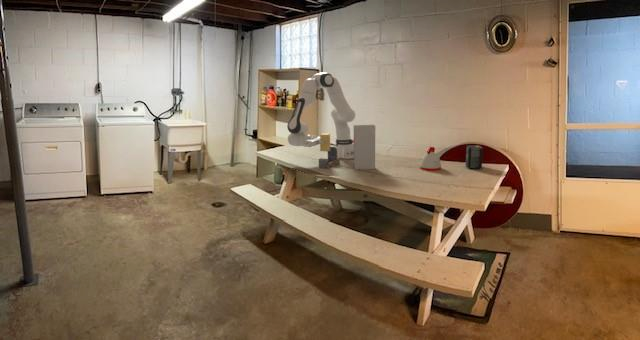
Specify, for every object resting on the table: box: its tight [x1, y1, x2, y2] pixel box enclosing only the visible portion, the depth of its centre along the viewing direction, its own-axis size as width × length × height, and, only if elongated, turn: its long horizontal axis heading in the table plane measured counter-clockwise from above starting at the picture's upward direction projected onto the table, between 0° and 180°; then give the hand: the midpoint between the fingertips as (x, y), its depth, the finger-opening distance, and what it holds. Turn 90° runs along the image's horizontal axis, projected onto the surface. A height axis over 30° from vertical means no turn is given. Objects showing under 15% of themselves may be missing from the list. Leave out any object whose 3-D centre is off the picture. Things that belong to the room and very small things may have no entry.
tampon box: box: [465, 144, 484, 170], centre depth 284 cm, size 11×9×15 cm
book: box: [319, 133, 331, 153], centre depth 296 cm, size 4×6×12 cm, turn 65°
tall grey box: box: [353, 124, 376, 171], centre depth 287 cm, size 14×6×30 cm, turn 92°
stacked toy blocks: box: [314, 145, 341, 169], centre depth 299 cm, size 21×10×13 cm, turn 155°
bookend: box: [318, 158, 328, 169], centre depth 292 cm, size 3×6×6 cm, turn 65°
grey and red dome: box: [419, 146, 442, 172], centre depth 284 cm, size 14×14×15 cm
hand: (326, 141), depth 296 cm, fingers closed on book, 4 cm apart
